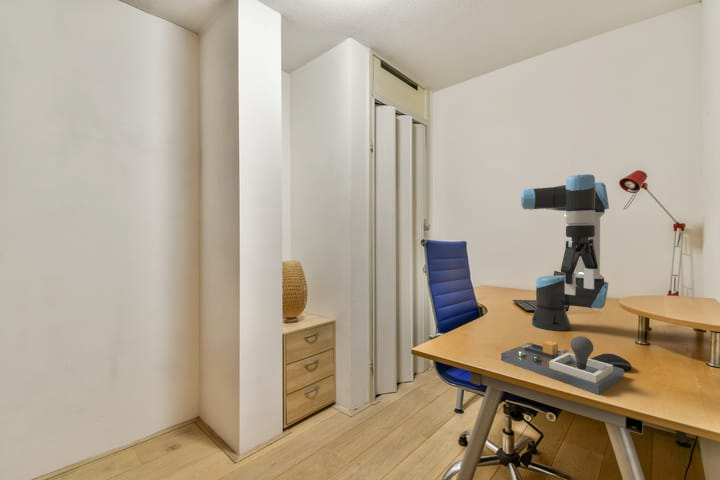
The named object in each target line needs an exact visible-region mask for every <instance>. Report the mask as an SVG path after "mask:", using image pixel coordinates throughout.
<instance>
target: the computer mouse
mask: <svg viewBox="0 0 720 480" xmlns="http://www.w3.org/2000/svg"><path fill="white" fill-rule="evenodd" d="M590 359H592V360H596V361H600V362H603V363H607V364H610V365H613V366H614V367H618V368H622V369H624V373H625V372H631V371H632V370H633V366H632V365H631V363H630V362H629V361H628V360H626V359H625V358H623V357H622V356H620V355H617V354H614V353H602V354H598V355H595V356H593V357H591V358H590Z"/></svg>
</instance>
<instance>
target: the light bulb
mask: <svg viewBox="0 0 720 480" xmlns="http://www.w3.org/2000/svg"><path fill="white" fill-rule="evenodd" d="M569 345H570V348H571V350H572V352H573V354H575V359H576V365H577V368H579V369H580V370H583V369H586V363H587V360H588V358H589V356H591V355H592V354H593V352H594V344H593V342H592V341H591V340H590V339H589V338H588V337H587V336H586V337H585V336H582V335H578V336H574V337H573V338H572V339H571V341H570V344H569Z"/></svg>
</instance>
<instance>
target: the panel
mask: <svg viewBox="0 0 720 480" xmlns="http://www.w3.org/2000/svg"><path fill="white" fill-rule="evenodd" d="M569 351H570V350H569V349H566V348H565V349H563V350H558V354H556V355H551V354H548V353H544V352H543V345H540V344H536V343H532V342H528V343H525V344H522V345H519V346H517V347H513V348H511V349H509V350H506V351H503V352H501V353H500V356H501V357H500V360H501V361H502V362H504V363H508V364H510V365H514V366H516V367H519V368H522V369H524V370H528V371H531V372H533V373H536V374H539V375H541V376H544V377H547V378H549V379H550V378H551V380H552V379H553V380H556V381H559V382H561V383H563V384H567V385H569V386H572V387H576V388H578V389H581V390H584V391H586V392H590V393H592V394H596V395H598V396H600V395H601V394H603V392H605V391H606V390H608V389H610V388H611V387H612V386H614V385H615V384H616V383H618V382H619V381H620V380H623V379H624V373H625V372H624V369H622V368H618V367H614V366H613V372H612V373H611V374H609V375H608V376H606V377H605V378H603V379H602V380H600V381H598V382H597V383H594V382H591V381H588V380H585V379H582V378H579V377H576V376H573V375H570V374H567V373H564V372H561V371H558V370H555V369H552V368H549V361H551V360H553V359H555V358H557V357H559V356H561V355H564V354H566V353H570V352H569ZM564 365H567V366H571V367H574V368H577V365H576V362H573V361H568V362H566V363H564ZM577 369H579V368H577ZM598 370H600V369H597V368H593V367H590V366H587V365H586V369H583V371H587V372H590V373H595V372H597V371H598Z"/></svg>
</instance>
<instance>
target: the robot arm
mask: <svg viewBox="0 0 720 480" xmlns="http://www.w3.org/2000/svg"><path fill="white" fill-rule="evenodd" d="M565 181H566V182H565V184H563V185H558V186H553V187H536V188H529V189H528V188H525V189H523V190H522V192H521V196H520V203H521V207H522V209H523V210H530V211H531V210H548V211H549V210H551V211H559V212H562V211H563V212H565V214H564V218H565V223H566V224H567V225H566V226H565V237H567V238H571V239H570V240H566V241H565V248H564V254H563V257H562V263H561V267H560V273H561V274H564V275H544V276H540V277H538V278H537V279H536V284H535V291H536V293H535V296H536V297H535V299H536V300H535V303H536V304H535V310H534V312H533V315H532V318H531V325H532V326H534V327H535V328H539V329H543V330H548V331H558V332H562V331H568V330H570V329H571V322H570V320H569V317H568V314H567V312H566V306H571V307H578V308H586V309H587V308H588V309H599V310H601V309H603V308H604V307H605V305H606V301H607V295H608V289H609V282H608V281H605V277H604V276H603V275H602V274H601V269H600V268H601V217H603V216H604V215H605V212H606V211H605V210H609V209H610V205H609V198H608V192H607V187H606V184H605V183H603V182H601V181H600V182H596V178H595V176H594V175H593V174H589V173H588V174H577V175H570V176H568V177H567V178H566V180H565Z"/></svg>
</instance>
